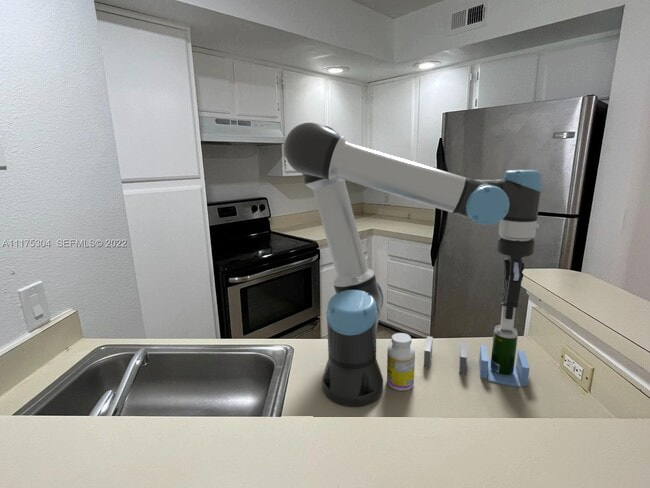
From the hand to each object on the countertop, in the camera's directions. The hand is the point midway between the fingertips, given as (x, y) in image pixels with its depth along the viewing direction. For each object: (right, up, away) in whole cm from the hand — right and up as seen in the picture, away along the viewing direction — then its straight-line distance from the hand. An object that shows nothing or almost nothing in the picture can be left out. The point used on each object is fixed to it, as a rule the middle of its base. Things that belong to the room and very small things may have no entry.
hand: (506, 328), depth 87 cm
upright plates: (-6, -12, +6) cm, 15 cm away
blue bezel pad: (0, -12, +3) cm, 13 cm away
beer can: (0, -12, +3) cm, 13 cm away
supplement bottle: (-27, -14, 0) cm, 30 cm away
